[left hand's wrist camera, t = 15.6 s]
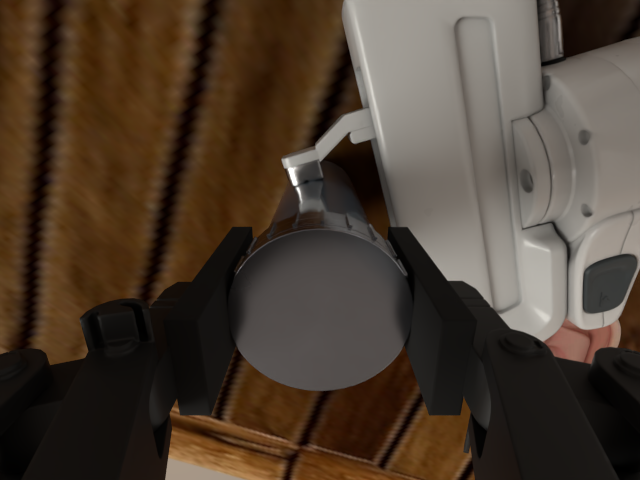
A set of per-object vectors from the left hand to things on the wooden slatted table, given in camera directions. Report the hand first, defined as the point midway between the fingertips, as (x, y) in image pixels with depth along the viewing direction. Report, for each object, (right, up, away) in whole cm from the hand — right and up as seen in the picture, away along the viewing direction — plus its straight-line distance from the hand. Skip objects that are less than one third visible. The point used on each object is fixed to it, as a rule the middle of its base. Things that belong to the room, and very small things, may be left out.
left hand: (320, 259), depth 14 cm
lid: (0, -1, -4) cm, 4 cm away
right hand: (-1, +1, +5) cm, 5 cm away
